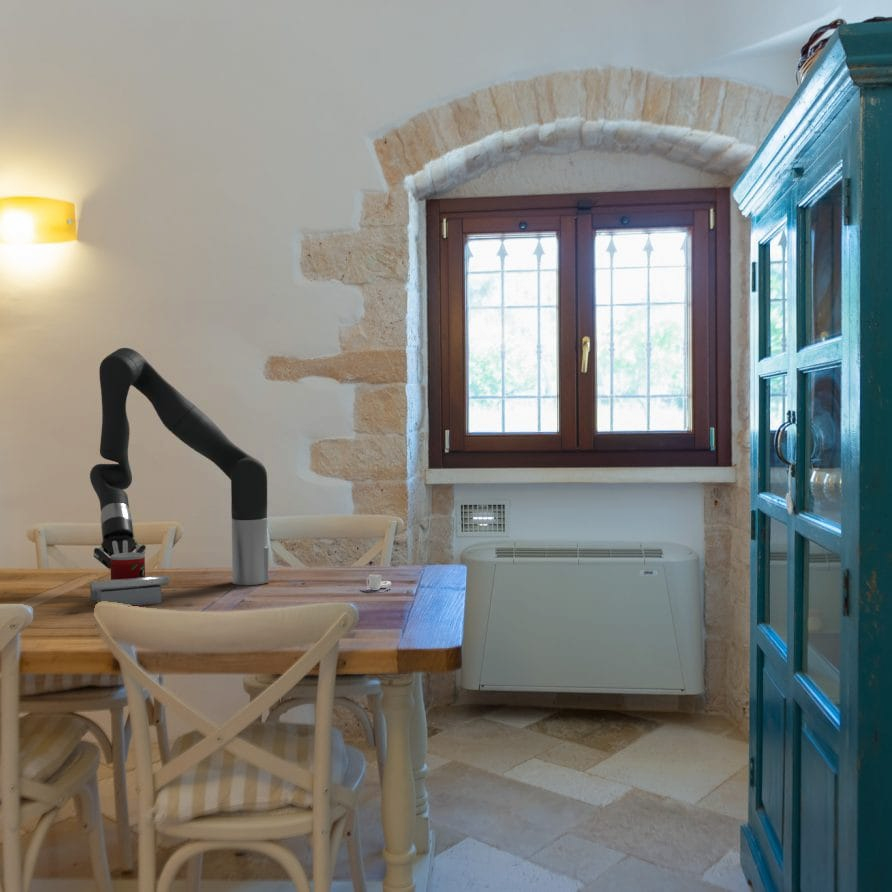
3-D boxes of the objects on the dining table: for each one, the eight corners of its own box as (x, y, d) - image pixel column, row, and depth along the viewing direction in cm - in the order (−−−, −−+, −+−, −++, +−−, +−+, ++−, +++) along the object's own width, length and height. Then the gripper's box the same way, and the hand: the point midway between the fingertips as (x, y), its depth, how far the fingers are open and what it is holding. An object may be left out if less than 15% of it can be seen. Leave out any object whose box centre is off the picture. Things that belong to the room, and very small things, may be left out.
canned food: (136, 603, 211) (135, 557, 211) (104, 602, 212) (104, 557, 212) (151, 596, 219) (150, 552, 218) (120, 596, 220) (119, 552, 219)
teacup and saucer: (387, 587, 232) (387, 571, 232) (398, 592, 225) (397, 576, 224) (355, 589, 229) (355, 574, 228) (364, 595, 221) (364, 579, 221)
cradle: (159, 592, 224) (159, 567, 224) (169, 602, 212) (168, 576, 212) (87, 599, 216) (86, 573, 216) (93, 610, 204) (92, 582, 204)
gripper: (142, 532, 235) (149, 586, 224) (88, 535, 229) (93, 590, 218) (144, 514, 230) (152, 568, 219) (90, 516, 224) (95, 573, 214)
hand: (123, 579), depth 219 cm, fingers closed
